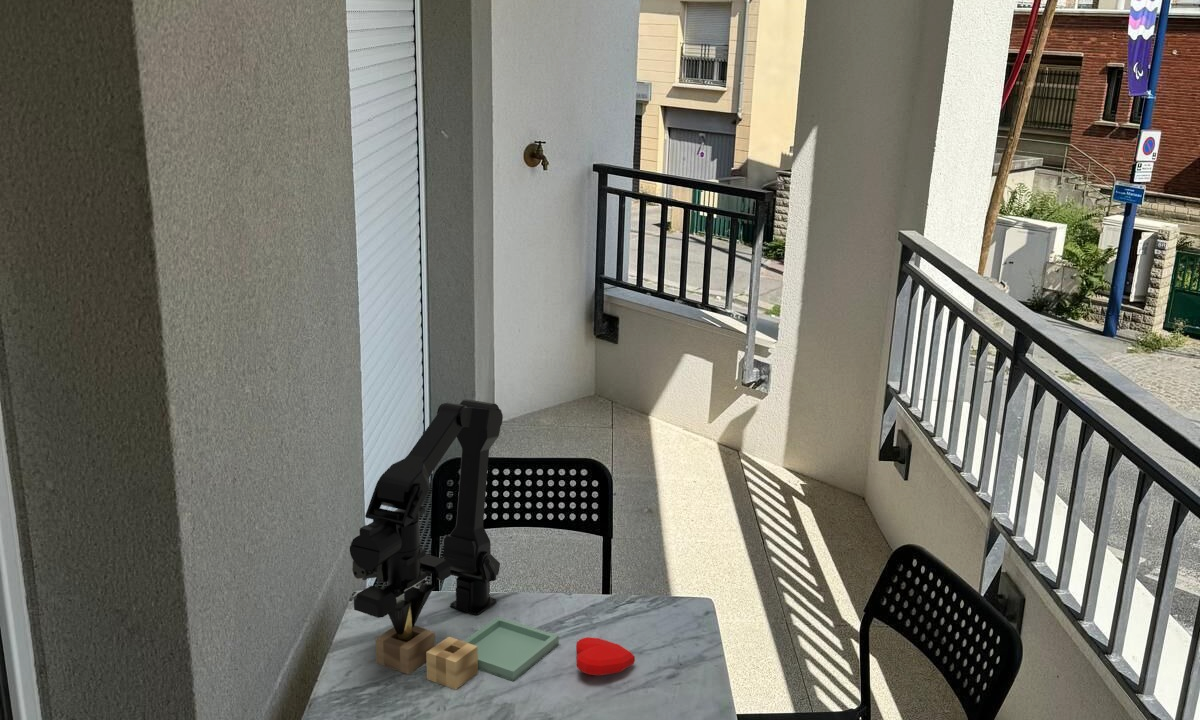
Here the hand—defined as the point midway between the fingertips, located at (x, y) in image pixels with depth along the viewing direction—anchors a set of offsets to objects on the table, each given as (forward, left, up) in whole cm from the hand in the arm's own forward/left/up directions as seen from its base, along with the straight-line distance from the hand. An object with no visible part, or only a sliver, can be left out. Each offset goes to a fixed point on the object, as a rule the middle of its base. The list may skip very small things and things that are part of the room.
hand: (405, 630), depth 186 cm
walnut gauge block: (0, 0, -6) cm, 6 cm away
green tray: (-11, +13, -6) cm, 18 cm away
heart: (-16, +30, -6) cm, 35 cm away
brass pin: (0, 0, -3) cm, 3 cm away
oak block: (0, +10, -6) cm, 11 cm away
